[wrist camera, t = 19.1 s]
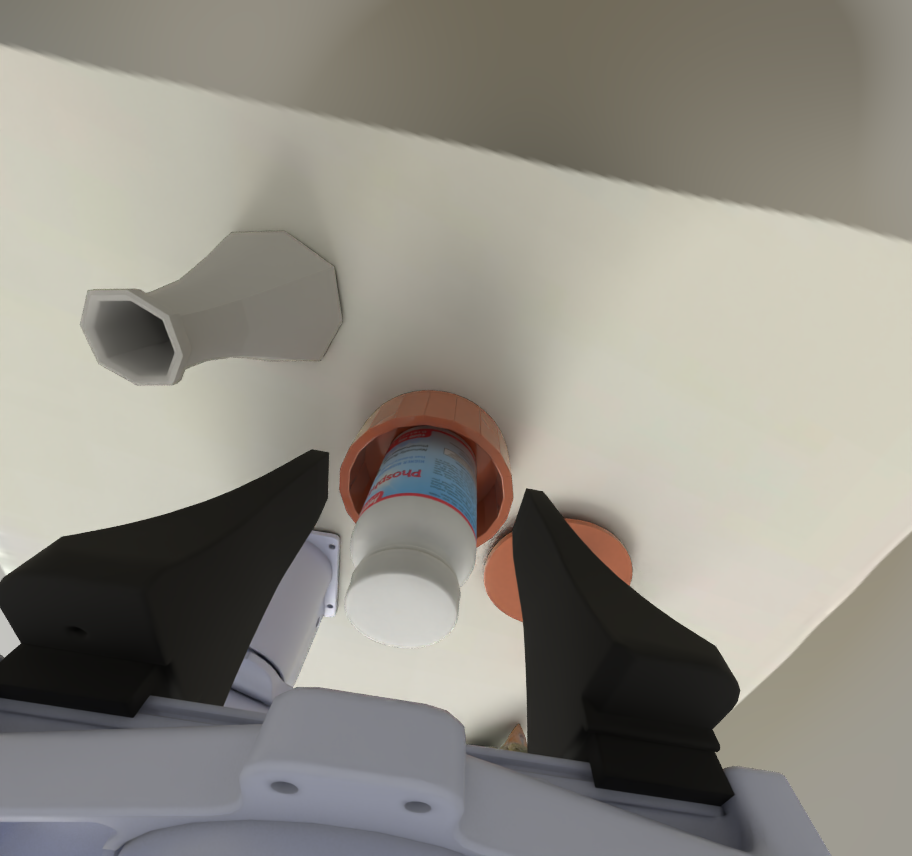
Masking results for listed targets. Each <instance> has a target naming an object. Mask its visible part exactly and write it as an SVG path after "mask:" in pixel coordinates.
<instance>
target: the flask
mask: <svg viewBox="0 0 912 856" xmlns="http://www.w3.org/2000/svg"><path fill="white" fill-rule="evenodd" d="M342 322H343V321H342V315H341V308H340V302H339V295H338V289H337V282H336V276H335V269H334V266H333V265H331V264H330V263H328V262H327V261H326V260H324V259H323V258H322V257H320V256H319V255H317V254H316V253H315V252H313V251H312V250H310V249H309V248H308V247H306V246H305V245H304V244H302V243H301V242H299V241H298V240H297V239H295V238H294V237H293V236H291V235H290V234H288V233H287V232H286V231H266V232H231V233H230V234H229V235H228V236H227V237H225V238H224V239H223V240H222V241H221V242H220V243H219V244H218V245H217V246H216V247H215V248H214V249H213V251H212V252H211V253H210V254H209V255H208V256H207V257H205V258H204V259H203V260H202V261H201V262H200V263H198V264H197V265H196V266H195V267H194V268H192V269H191V270H190V271H189V272H188V273H187V274H185V275H184V276H183V277H182V278H181V279H179V280H177V281H175V282H172V283H170V284H168V285H165V286H163V287H161V288H158V289H156V290H154V291H151V292H148V293H145V292H143V291H141V290H139V289H93V290H88V291H87V295H86V300H85V304H84V309H83V313H82V318H81V322H80V326H81V328H82V330H83V332H84V335H85V337H86V339H87V341H88V343H89V345H90V347H91V349H92V352H93V354H94V356H95V358H96V360H97V362H98V364H100V365H101V366H103V367H105V368H107V369H108V370H110V371H112V372H114V373H116V374H117V375H119V376H121V377H123V378H125V379H126V380H128V381H130V382H132V383H133V384H135V385H174V384H177V383H178V382H179V381H180V380H181V379H182V377H183V374H184V371H185V369H187V368H190V367H192V366H195V365H198V364H200V363H203V362H205V361H210V360H217V359H224V358H230V357H233V358H247V359H256V360H264V361H321V359H322V357H323V356H324V354H325V352H326V350H327V349H328V347H329V345H330V343H331V341H332V340H333V338H334V336H335V334H336V332H337V331H338V329H339V327H340V325H341V323H342Z"/></svg>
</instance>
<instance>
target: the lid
mask: <svg viewBox="0 0 912 856" xmlns="http://www.w3.org/2000/svg"><path fill="white" fill-rule="evenodd" d="M564 519H565V520H566V522H567V523H568V524H569V525H570V527H571V528H572V529H573V530H574V531H575V533H576V534H577V535H578V536H579V537H580V538H581V540H582V541H583V542H584V543H585V544H586V545H587V546H588V547H589V548H590V549H591V551H592V552H593V553H594V554H595V555H596V556H597V557H598V558H599V559H600V560H601V561H602V562H603V563H604V564H605V565H606V566H607V567H609V568H610V569H611V570H612V571H613V572H614V573H615V574H616V575H617V576H618V577H619V578H620V579H622V580H623V581H624V582H625V583H626V584H628V585H629V586H630V583H631V579H632V563H631V559H630V556H629V554H628V552H627V550H626V548H625V547H624V545H623V544H622V543H621V541H620V540H619V539H618V538H617V537H616V536H615V535H614V534H612V533H611V532H609V531H608V530H606V529H604V528H602V527H600V526H598V525H596V524H593V523H590V522H587V521H582V520H577V519H569V518H564ZM484 585H485V589H486V592H487V594H488V596H489V598H490V599H491V601H492V602H493V603H494V605H495V606H496V607H498V608H499V609H500V610H501V611H502V612H504V613H505V614H506V615H508V616H510V617H512V618H514V619H516V620H519V621H521V622H523V618H522V611H521V605H520V599H519V593H518V586H517V580H516V574H515V567H514V561H513V547H512V532H510V533H509V534H508V535H506V536H505V537H503V538H502V539H501V540H500V541H499V542H498V543H497V544H496V545H495V546H494V548H493V549H492V550H491V552H490V554H489V555H488V557H487V560H486V562H485V566H484Z"/></svg>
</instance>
